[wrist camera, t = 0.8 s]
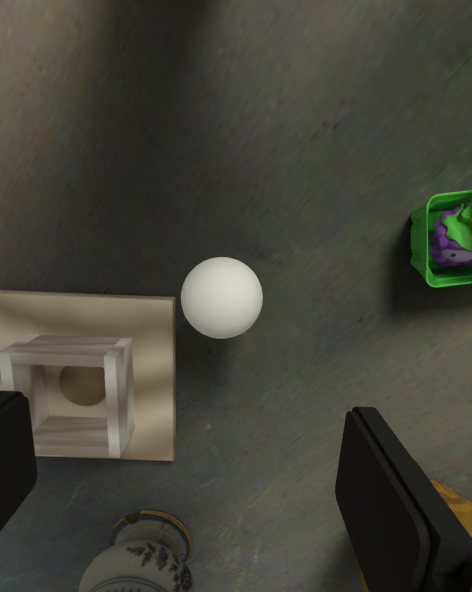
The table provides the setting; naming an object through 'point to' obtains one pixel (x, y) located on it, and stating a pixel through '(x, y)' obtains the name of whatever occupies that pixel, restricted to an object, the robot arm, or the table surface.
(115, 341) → the socket
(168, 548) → the apothecary jar
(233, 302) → the lightbulb
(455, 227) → the fruit basket
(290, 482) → the table surface
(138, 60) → the table surface
